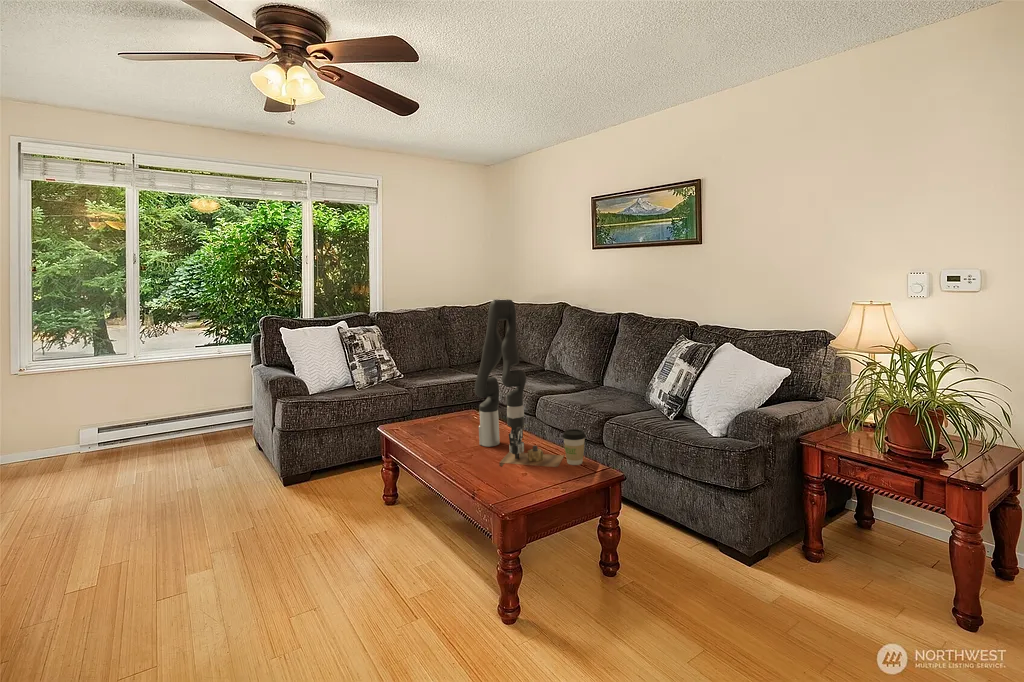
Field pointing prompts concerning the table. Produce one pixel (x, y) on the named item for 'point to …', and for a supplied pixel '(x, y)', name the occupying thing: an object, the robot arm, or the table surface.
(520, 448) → the steel gear
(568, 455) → the coffee cup
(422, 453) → the table surface
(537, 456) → the gear board
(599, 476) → the table surface
